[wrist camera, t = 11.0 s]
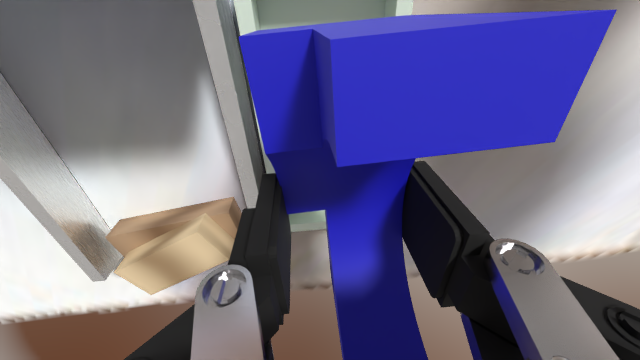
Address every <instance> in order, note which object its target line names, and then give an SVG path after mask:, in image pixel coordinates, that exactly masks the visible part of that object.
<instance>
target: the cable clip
mask: <svg viewBox="0 0 640 360" xmlns="http://www.w3.org/2000/svg"><path fill="white" fill-rule="evenodd" d="M615 12H616V10H587V11H549V12H512V13H475V14H437V15H404V16H394V17H384V18H374V19H364V20H355V21H345V22H335V23H325V24H316V25H306V26H296V27H286V28H276V29H267V30H257V31H254V32H251V33H248V34H245V35H242V36H238V37H239V42H240V46H241V51H242V55H243V59H244V64H245V68H246V72H247V77H248V81H249V85H250V90H251V94H252V98H253V103H254V107H255V111H256V116H257V120H258V125H259V129H260V133H261V138H262V142H263V146H264V151H265V154H266V156H267V157H268V159H269V160H270V162H271V164H272V166H273V168H274V170H275V173H276V175H277V178H278V181H279V184H280V186H282V191H283V196H284V201H285V207H286V211H287V214H295V213H303V212H312V211H320V210H325V217H326V228H327V238H328V248H329V259H330V269H331V278H332V285H333V292H334V299H335V307H336V313H337V320H338V328H339V335H340V343H341V350H342V357H343V360H428V357H427V354H426V351H425V348H424V345H423V342H422V339H421V335H420V332H419V328H418V325H417V321H416V317H415V313H414V310H413V305H412V301H411V297H410V292H409V287H408V281H407V276H406V269H405V262H404V253H403V241H402V210H403V200H404V193H405V188H406V184H407V180H408V176H409V173H410V171H411V168H412V166H413V164H414V161H415V159H416V158H421V157H430V156H438V155H447V154H455V153H464V152H473V151H481V150H490V149H499V148H507V147H516V146H525V145H533V144H542V143H550V142H555V140H556V138H557V136H558V134H559V132H560V130H561V128H562V125H563V123H564V121H565V119H566V117H567V115H568V113H569V110H570V108H571V106H572V104H573V102H574V100H575V98H576V96H577V93H578V91H579V89H580V87H581V85H582V83H583V81H584V78H585V76H586V74H587V72H588V70H589V68H590V66H591V64H592V61H593V59H594V57H595V55H596V53H597V51H598V49H599V46H600V44H601V42H602V40H603V38H604V36H605V34H606V32H607V29H608V27H609V25H610V23H611V21H612V19H613V17H614V14H615Z"/></svg>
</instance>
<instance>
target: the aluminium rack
mask: <svg viewBox="0 0 640 360" xmlns="http://www.w3.org/2000/svg"><path fill="white" fill-rule="evenodd" d="M192 1H193V5H194V8H195V12H196V16H197V20H198V23H199V27H200V31H201V35H202V39H203V42H204V46H205V50H206V54H207V58H208V61H209V65H210V69H211V73H212V76H213V80H214V84H215V88H216V92H217V95H218V99H219V103H220V107H221V111H222V114H223V118H224V122H225V126H226V129H227V133H228V137H229V141H230V145H231V148H232V152H233V156H234V160H235V164H236V167H237V171H238V175H239V179H240V183H241V186H242V190H243V194H244V198H245V201H246V205H247V208H255V207H256V202H257V197H258V193H259V188H260V183H261V178H262V174H264V172H263V167H262V162H261V157H260V152H259V146H258V141H257V136H256V131H255V126H254V121H253V116H252V111H251V106H250V101H249V96H248V91H247V86H246V81H245V75H244V70H243V65H242V60H241V55H240V50H239V45H238V40H237V35H236V30H235V25H234V20H233V15H232V9H231V4H230V0H192ZM0 178H1V179H2V180H3V182H4V183H5V184H6V185H7V186H8V187H9V188H10V189H11V191H12V192H13V193H14V194H15V195H16V196H17V197H18V198H19V199H20V201H21V202H22V203H23V204H24V205H25V206H26V207H27V208H28V210H29V211H30V212H31V213H32V214H33V215H34V216H35V217H36V218H37V220H38V221H39V222H40V223H41V224H42V225H43V226H44V227H45V229H46V230H47V231H48V232H49V233H50V234H51V235H52V236H53V237H54V239H55V240H56V241H57V242H58V243H59V244H60V245H61V246H62V248H63V249H64V250H65V251H66V252H67V253H68V254H69V255H70V256H71V258H72V259H73V260H74V261H75V262H76V263H77V264H78V265H79V267H80V268H81V269H82V270H83V271H84V272H85V273H86V274H87V275H88V277H89V278H90V279H91V280H92V281H93V282H94V281H105V280H106V279H107V277H108V276H109V275H110V273H111V272H112V271H113V269H114V268H115V266H116V265H117V264H118V262H119V261H120V260H121V258H122V257H123V256H122V255H121V253H120V252H119V251H118V250H117V249H116V248H115V247H114V246H113V245H112V244H111V243H110V242H109V241H108V240H107V239H106V238H105V237H106V236H107V234H108V233H109V232H110V231H111V230H110V229H109V227H108V226H107V224H106V223H105V221H104V220H103V219H102V217H101V216H100V214H99V213H98V211H97V210H96V209H95V207H94V206H93V204H92V203H91V201H90V200H89V199H88V197H87V196H86V194H85V193H84V191H83V190H82V189H81V187H80V186H79V184H78V183H77V181H76V180H75V178H74V177H73V176H72V174H71V173H70V171H69V170H68V168H67V167H66V166H65V164H64V163H63V161H62V160H61V158H60V157H59V156H58V154H57V153H56V151H55V150H54V148H53V147H52V146H51V144H50V143H49V141H48V140H47V138H46V137H45V136H44V134H43V133H42V131H41V130H40V128H39V127H38V126H37V124H36V123H35V121H34V120H33V118H32V117H31V116H30V114H29V113H28V111H27V110H26V108H25V107H24V106H23V104H22V103H21V101H20V100H19V98H18V97H17V96H16V94H15V93H14V91H13V90H12V88H11V87H10V86H9V84H8V83H7V81H6V80H5V78H4V77H3V76H2V74H1V73H0Z"/></svg>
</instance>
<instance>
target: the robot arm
mask: <svg viewBox="0 0 640 360" xmlns="http://www.w3.org/2000/svg"><path fill="white" fill-rule="evenodd" d="M402 238H403V240H404V242H405V244H406V246H407V248H408V250H409V252H410V254H411V256H412V258H413V260H414V262H415V264H416V266H417V268H418V270H419V272H420V274H421V277H422V278H423V281H424V283H425V285H426V287H427V289H428V291H429V293H430V295H431V296H432V297H433V298H437V300H438V302H439V304H440V306H441V307H450V306H455V308H456V309H457V311H459V312H460V314H461V318H462V322H463V325H464V329H465V332H466V336H467V339H468V343H469V346H470V349H471V353H472V356H473V359H474V360H640V310H639V309H637V308H635V307H633V306H631V305H628V304H625V303H623V302H621V301H619V300H616V299H614V298H611V297H609V296H607V295H604V294H602V293H599V292H597V291H595V290H592V289H590V288H587V287H585V286H583V285H580V284H578V283H575V282H573V281H571V280H568V279H566V278H563V277H561V276H559V274H558V273H557V272H556V270H555V269H554V267H553V266H552V265H551V263H550V262H549V260H548V259H547V258H546V257H545V256H544V255H543V254H542V253H540V252H539V251H538V250H536V249H535V248H533V247H531V246H529V245H528V244H526V243H523V242H520V241H517V240H512V239H498V240H494V239H493V238H492V237H491V236H490V235H489V232H488V231H487V229H486V228H485V227H484V226H483V225H482V224H481V223H480V222H479V221H478V220H477V218H476V217H475V216H474V215H473V214H472V213H471V212H470V211H469V210H468V208H467V207H466V206H465V205H464V204H463V203H462V202H461V201H460V200H459V198H458V197H457V196H456V195H455V194H454V193H453V192H452V191H451V190H450V189H449V187H448V186H447V185H446V184H445V183H444V182H443V181H442V180H441V179H440V177H439V176H438V175H437V174H436V173H435V172H434V171H433V170H432V169H431V167H430V166H429V165H428V164H427V163H426V162H425V161H419V162H414V164H413V166H412V168H411V171H410V173H409V176H408V180H407V184H406V188H405V193H404V200H403V210H402ZM290 259H291V227H290V220H289V214H287V211H286V207H285V201H284V196H283V191H282V186H280V184H279V181H278V178H277V175H276V173H269V174H262V178H261V183H260V188H259V193H258V197H257V202H256V207H255V208H247V209H244V210H243V212H242V215H241V218H240V222H239V226H238V229H237V233H236V237H235V240H234V244H233V248H232V251H231V255H230V259H229V262H228V265H226V266H222V267H220V268H218V269H215V270H214V271H212V272H211V273H209V274H208V275H207V276H206V277H205V278H204V279H203V280H202V282H201V283H200V285H199V287H198V288H197V292H196V296H195V304H194V305H193V306H192V307H190V308H189V309H188V310H187V311H185V312H184V313H183V314H182V315H180V316H179V317H178V318H177V319H175V320H174V321H172V322H171V323H170V324H169V325H167V326H166V327H165V328H164V329H162V330H161V331H160V332H158V333H157V334H156V335H155V336H153V337H152V338H151V339H150V340H148V341H147V342H146V343H144V344H143V345H142V346H141V347H139V348H138V349H137V350H135V352H133V353H132V354H130V355H129V356H128V357H126V358H125V359H124V360H274V356H273V350H272V345H271V338H272V336H274V334H275V333H276V332H277V331H278V330H279V325H283V316H284V314H289V308H290Z"/></svg>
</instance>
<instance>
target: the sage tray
mask: <svg viewBox="0 0 640 360" xmlns="http://www.w3.org/2000/svg"><path fill="white" fill-rule="evenodd" d="M234 5H235V11H236V16H237V21H238V26H239V32H240V36H242V35H245V34H248V33H251V32H254V31H257V30H267V29H276V28H286V27H296V26H306V25H316V24H325V23H335V22H345V21H355V20H364V19H374V18H384V17H394V16H404V15H411V14H412V7H413V0H234ZM251 95H252V94H251ZM252 100H253V98H252ZM253 105H254V103H253ZM254 111H255V107H254ZM255 116H256V111H255ZM256 121H257V126H258V132H259V137H260V142H261V147H262V153H263V158H264V163H265V168H266V174H269V173H275V170H274V168H273V166H272V164H271V162H270V160H269V159H268V157H267V156H266V154H265V151H264V146H263V142H262V138H261V133H260V129H259V125H258V120H257V116H256ZM289 220H290V227H291V232H298V231H309V230H321V229H327V228H326V217H325V210H320V211H312V212H303V213H295V214H289Z"/></svg>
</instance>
